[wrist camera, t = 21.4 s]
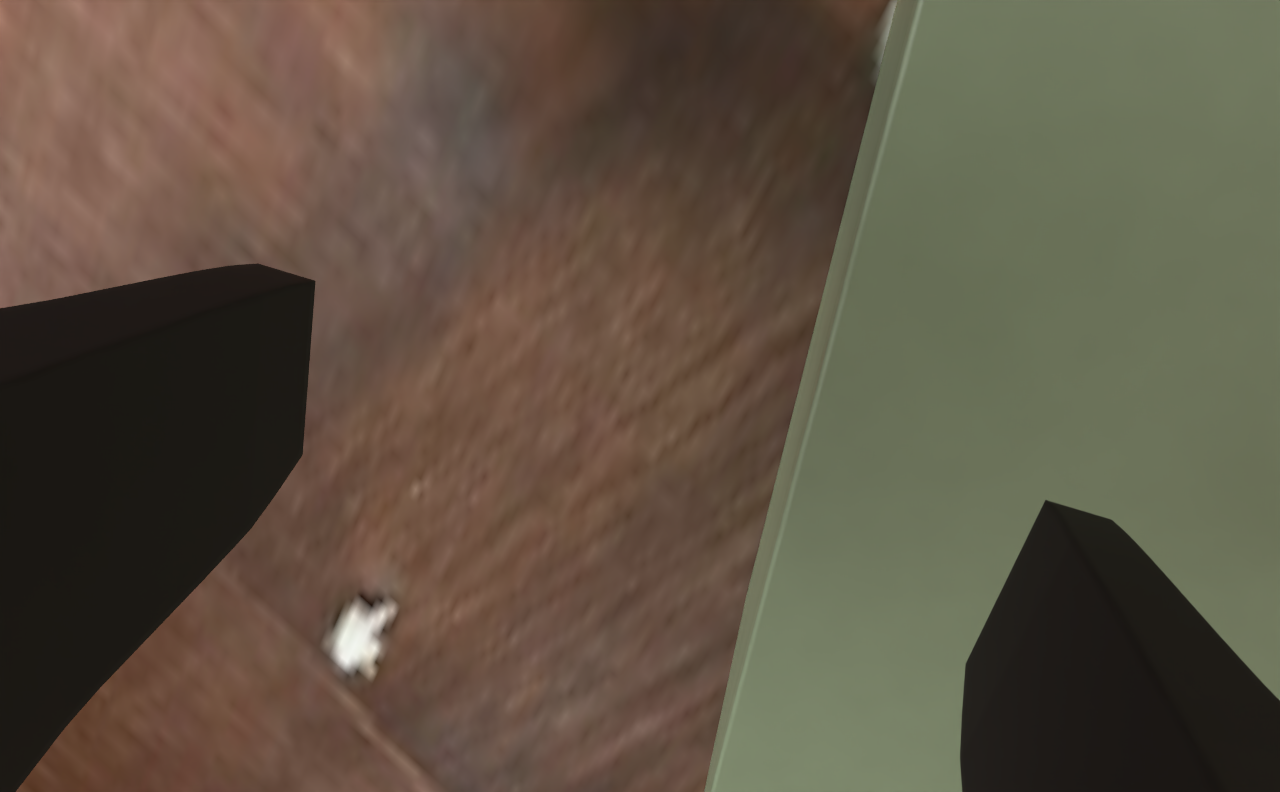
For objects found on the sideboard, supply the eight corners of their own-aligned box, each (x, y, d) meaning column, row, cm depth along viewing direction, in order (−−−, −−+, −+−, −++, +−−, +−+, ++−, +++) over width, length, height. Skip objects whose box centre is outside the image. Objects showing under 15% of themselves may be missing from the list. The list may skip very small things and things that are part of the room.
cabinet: (932, -140, 17) (950, -123, 10) (1830, 18, 15) (2612, 172, 8) (745, 598, 24) (677, 917, 17) (1349, 755, 22) (1552, 1179, 15)
